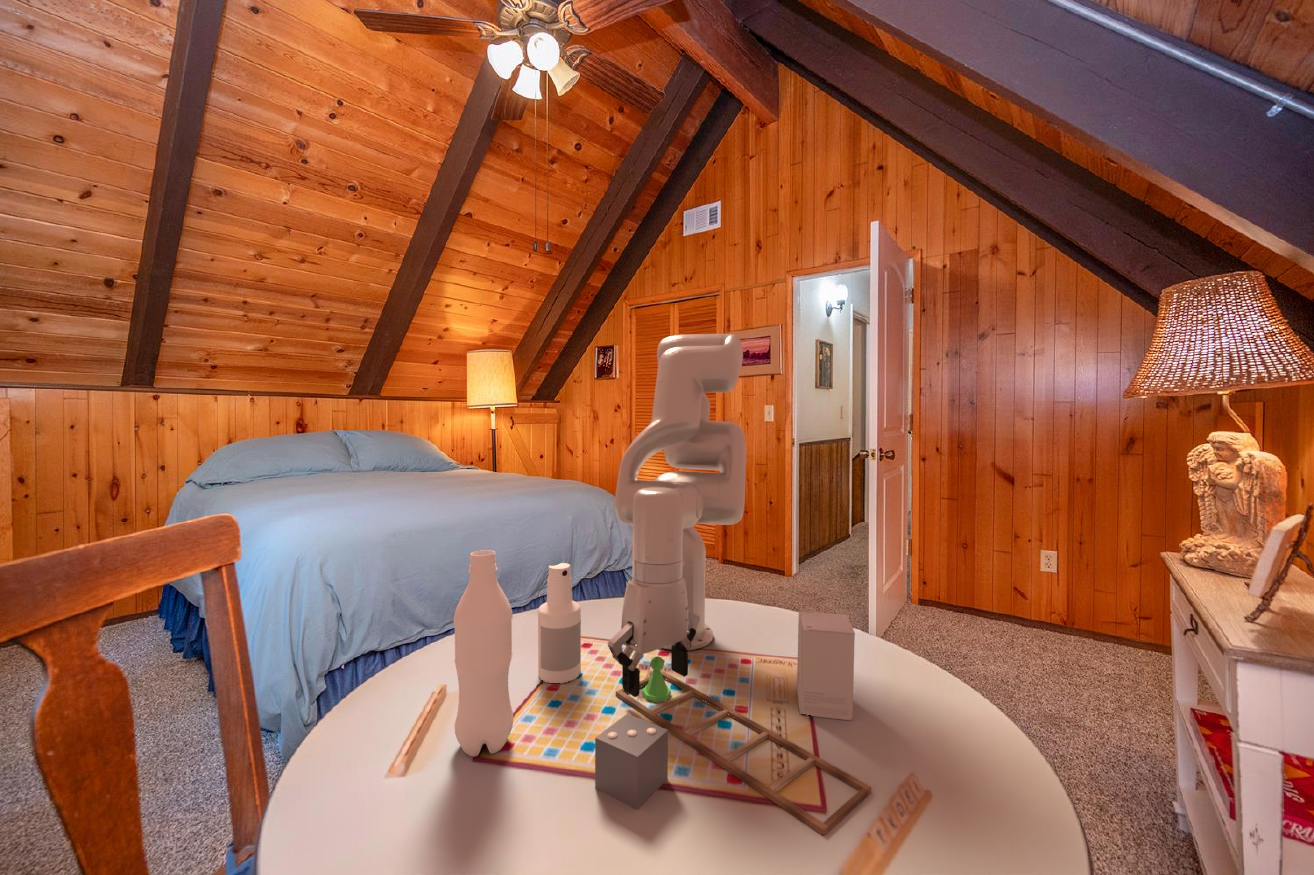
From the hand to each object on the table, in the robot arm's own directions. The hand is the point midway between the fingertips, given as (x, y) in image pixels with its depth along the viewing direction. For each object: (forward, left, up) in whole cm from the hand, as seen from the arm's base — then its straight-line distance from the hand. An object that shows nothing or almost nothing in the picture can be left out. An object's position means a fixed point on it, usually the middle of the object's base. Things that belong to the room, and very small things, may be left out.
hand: (656, 682), depth 82 cm
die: (+13, -15, -2) cm, 20 cm away
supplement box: (+18, +17, -2) cm, 25 cm away
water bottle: (-5, -25, -2) cm, 25 cm away
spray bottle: (-15, -8, -2) cm, 17 cm away
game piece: (0, 0, -2) cm, 2 cm away
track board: (+14, 0, -2) cm, 14 cm away
